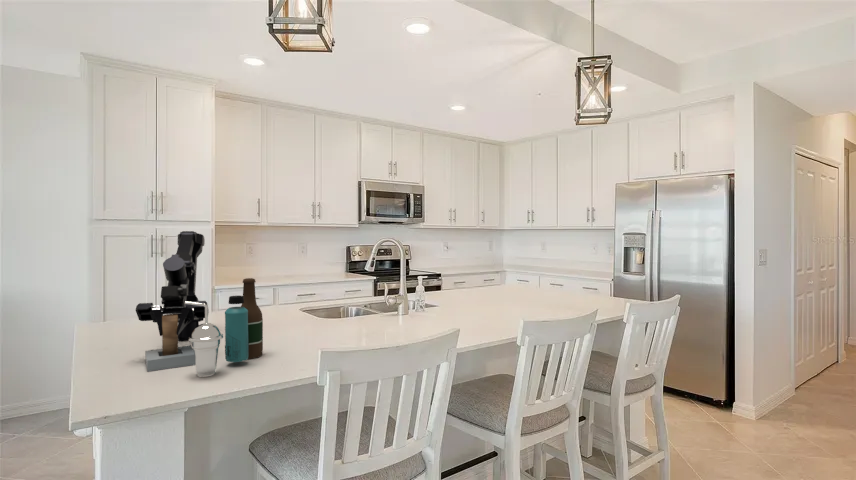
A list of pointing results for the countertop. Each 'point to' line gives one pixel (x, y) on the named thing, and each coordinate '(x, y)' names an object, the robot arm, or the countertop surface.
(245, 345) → the beverage bottle
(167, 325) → the peg
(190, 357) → the socket
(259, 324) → the beer bottle
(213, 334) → the cup with straw
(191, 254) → the robot arm
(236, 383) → the countertop surface
